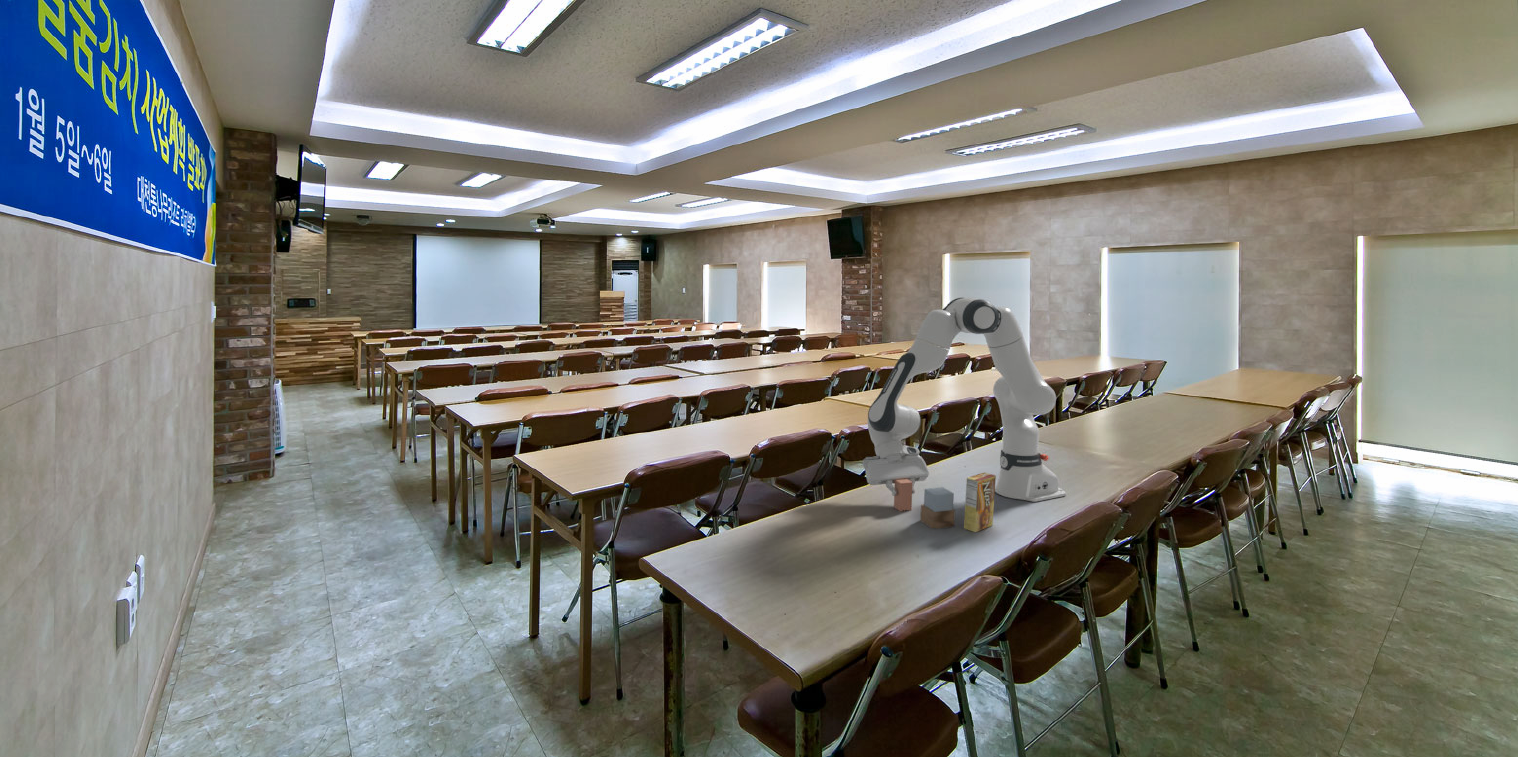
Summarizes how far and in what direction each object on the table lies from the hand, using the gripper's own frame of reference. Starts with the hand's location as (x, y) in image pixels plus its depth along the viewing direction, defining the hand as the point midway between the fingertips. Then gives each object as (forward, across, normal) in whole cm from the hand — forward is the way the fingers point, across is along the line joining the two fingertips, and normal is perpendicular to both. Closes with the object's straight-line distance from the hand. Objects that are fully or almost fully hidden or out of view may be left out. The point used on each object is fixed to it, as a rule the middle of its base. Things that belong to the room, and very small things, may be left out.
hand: (904, 494), depth 210 cm
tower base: (+13, +4, -6) cm, 15 cm away
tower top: (+10, +4, -10) cm, 14 cm away
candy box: (+17, +14, -10) cm, 24 cm away
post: (+3, 0, +4) cm, 5 cm away
